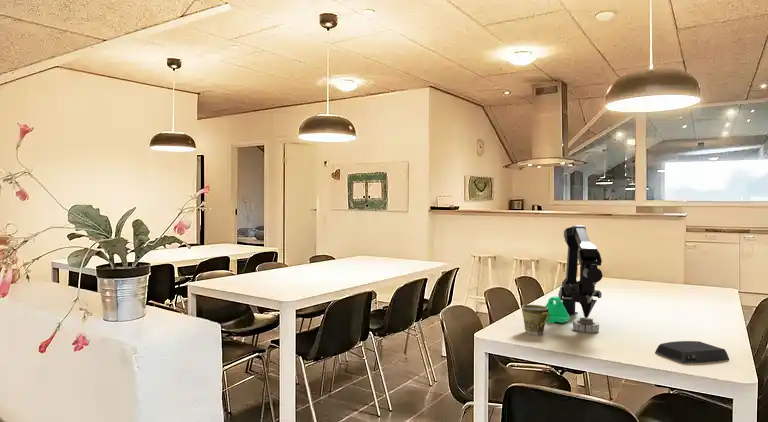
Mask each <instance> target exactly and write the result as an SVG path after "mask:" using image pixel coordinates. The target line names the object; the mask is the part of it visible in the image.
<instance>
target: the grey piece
mask: <svg viewBox="0 0 768 422" xmlns="http://www.w3.org/2000/svg"><path fill="white" fill-rule="evenodd" d="M579 321H580V319H576V320H573V321H572V330H574V331H577V332H580V333H585V334H596V333H599V330H600V324H599V322H598V321H597V322H596V321H594V320H593V325H586V324H580V323H579Z"/></svg>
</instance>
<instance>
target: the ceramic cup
mask: <svg viewBox="0 0 768 422" xmlns="http://www.w3.org/2000/svg"><path fill="white" fill-rule="evenodd" d="M545 306H546V305H539V304H523V305H521V312H522V318H523V323H524V330H525V333H526V334H529V335H531V336H534V335H535V336H541V335H542V336H543V334H544V331H545V327H546V326H545V325H546V323H547V322H546V321H548V320H549V318H550V316H549V313H548V310H549V308H548V307H545ZM547 315H548V319H547V320H546V318H547Z"/></svg>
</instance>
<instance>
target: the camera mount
mask: <svg viewBox="0 0 768 422" xmlns="http://www.w3.org/2000/svg"><path fill="white" fill-rule="evenodd" d="M544 306H545V307H548V308H549V310H548V313H549V316H550V318H549V320H548V321H546V322H545V323H550V324H556V323H565V322H568V321H570V316H571V315H569V314H568V312H567V311H566V309H565V307H564V305H563V303H562V300H561V299H560V298H559V297H558V296H556V295H554V296H552V297H550V298H548V302H547V303H546V304H545V305H544ZM547 319H548V315H547V318H546V320H547Z"/></svg>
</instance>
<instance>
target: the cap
mask: <svg viewBox="0 0 768 422" xmlns="http://www.w3.org/2000/svg"><path fill="white" fill-rule="evenodd" d="M579 320H580V321H579V323H580V324H586V325H593V321H594V319H593V318H590V317H588V318H585V317H579Z"/></svg>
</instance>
